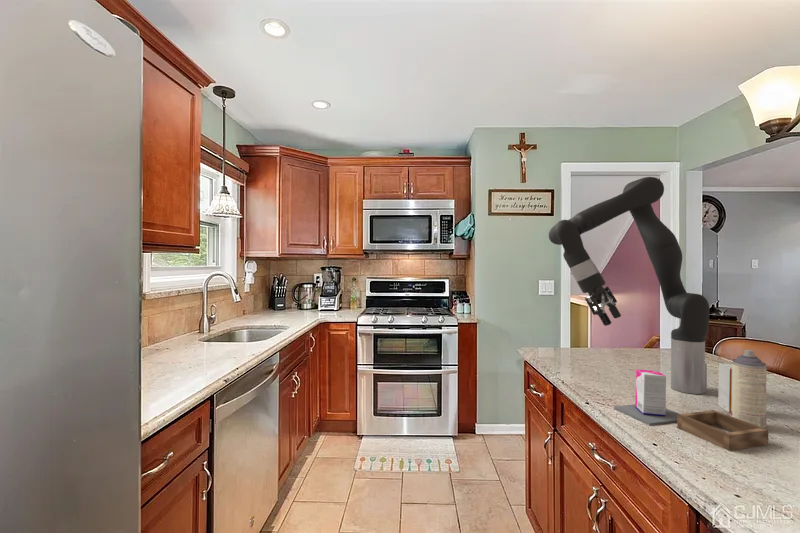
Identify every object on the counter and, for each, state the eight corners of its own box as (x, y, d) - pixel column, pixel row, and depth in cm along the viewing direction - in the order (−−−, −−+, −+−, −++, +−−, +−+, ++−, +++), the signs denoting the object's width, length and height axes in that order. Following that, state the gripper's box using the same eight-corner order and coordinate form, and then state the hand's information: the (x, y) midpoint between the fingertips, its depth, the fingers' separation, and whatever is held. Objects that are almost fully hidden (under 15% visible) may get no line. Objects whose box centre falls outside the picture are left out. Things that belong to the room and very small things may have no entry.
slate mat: (651, 404, 114) (651, 402, 114) (690, 420, 103) (690, 418, 103) (613, 408, 111) (613, 406, 111) (649, 425, 99) (649, 423, 99)
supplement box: (666, 417, 103) (666, 375, 103) (642, 415, 105) (643, 374, 105) (657, 409, 109) (657, 370, 109) (634, 407, 110) (634, 368, 110)
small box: (729, 413, 108) (729, 368, 108) (717, 405, 114) (718, 362, 114) (763, 416, 105) (764, 370, 105) (750, 408, 112) (750, 365, 111)
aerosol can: (763, 424, 101) (763, 349, 100) (768, 433, 95) (769, 354, 95) (729, 417, 105) (730, 346, 104) (733, 426, 99) (733, 351, 99)
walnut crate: (713, 423, 101) (713, 410, 101) (768, 444, 89) (768, 429, 89) (677, 427, 98) (677, 414, 98) (729, 450, 86) (729, 435, 86)
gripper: (588, 275, 116) (616, 323, 112) (606, 267, 125) (632, 311, 121) (567, 284, 121) (593, 331, 118) (585, 276, 130) (610, 318, 127)
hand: (613, 321), depth 119 cm, fingers open, 8 cm apart
